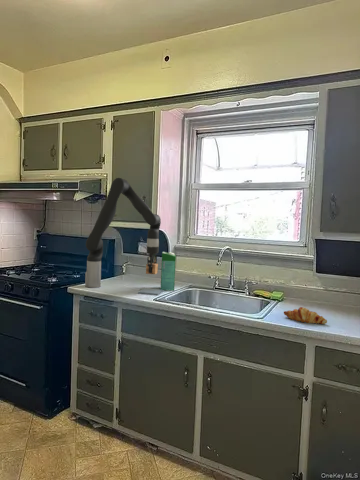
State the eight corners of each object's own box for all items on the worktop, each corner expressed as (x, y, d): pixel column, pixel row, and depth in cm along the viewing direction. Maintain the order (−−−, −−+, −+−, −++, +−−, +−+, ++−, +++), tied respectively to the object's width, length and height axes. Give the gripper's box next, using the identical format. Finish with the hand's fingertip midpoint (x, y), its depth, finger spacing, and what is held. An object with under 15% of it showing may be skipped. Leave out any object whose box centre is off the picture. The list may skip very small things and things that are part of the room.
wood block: (145, 273, 224) (146, 264, 224) (148, 272, 230) (148, 263, 230) (155, 274, 223) (155, 264, 223) (157, 272, 229) (157, 263, 229)
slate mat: (138, 293, 222) (138, 291, 222) (144, 289, 235) (144, 287, 235) (158, 295, 220) (158, 293, 220) (163, 291, 233) (163, 289, 233)
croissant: (327, 330, 176) (329, 314, 179) (325, 325, 168) (327, 309, 171) (284, 321, 187) (286, 306, 189) (280, 316, 179) (283, 301, 181)
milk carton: (174, 290, 235) (175, 253, 233) (160, 290, 235) (162, 252, 233) (174, 287, 244) (175, 251, 242) (161, 287, 244) (162, 251, 242)
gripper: (150, 244, 233) (149, 270, 234) (143, 246, 219) (142, 273, 220) (161, 245, 232) (160, 270, 233) (155, 247, 218) (154, 274, 219)
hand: (151, 271), depth 227 cm, fingers closed on wood block, 6 cm apart
